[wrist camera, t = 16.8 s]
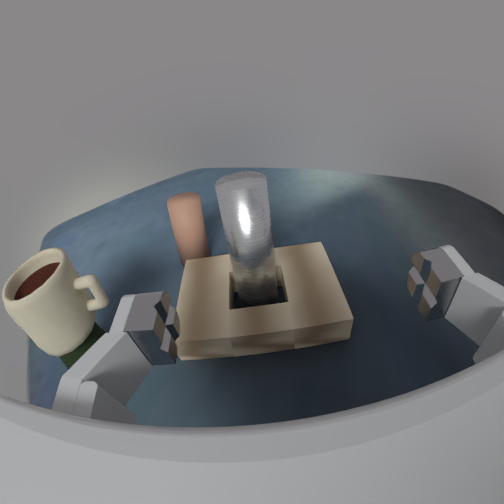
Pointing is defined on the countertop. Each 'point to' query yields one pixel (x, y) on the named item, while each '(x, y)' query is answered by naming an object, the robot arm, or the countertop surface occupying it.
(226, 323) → the hole plate
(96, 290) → the character mug
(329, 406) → the countertop surface
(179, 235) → the terracotta pin
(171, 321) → the robot arm
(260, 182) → the steel pin
